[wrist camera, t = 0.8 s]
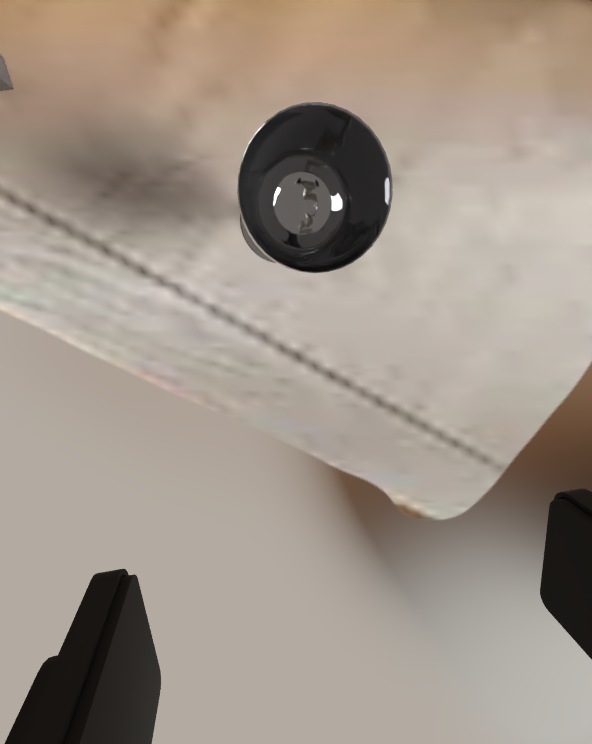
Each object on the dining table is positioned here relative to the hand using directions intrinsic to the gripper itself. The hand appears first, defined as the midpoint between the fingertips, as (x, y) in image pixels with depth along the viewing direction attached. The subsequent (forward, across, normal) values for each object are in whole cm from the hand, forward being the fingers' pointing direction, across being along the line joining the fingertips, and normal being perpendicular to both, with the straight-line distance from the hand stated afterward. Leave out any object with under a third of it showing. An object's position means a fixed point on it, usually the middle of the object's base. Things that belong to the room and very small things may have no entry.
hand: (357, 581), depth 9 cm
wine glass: (+30, -3, -10) cm, 31 cm away
